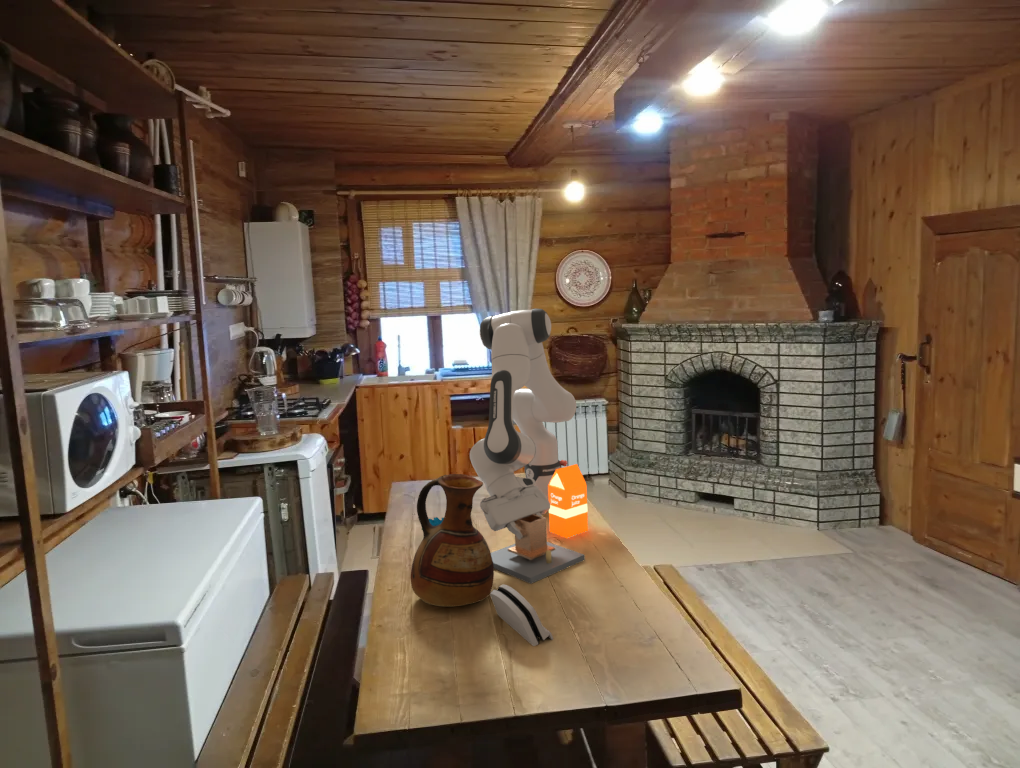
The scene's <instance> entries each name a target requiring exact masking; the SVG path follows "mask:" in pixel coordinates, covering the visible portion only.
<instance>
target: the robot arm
mask: <svg viewBox="0 0 1020 768" xmlns="http://www.w3.org/2000/svg"><path fill="white" fill-rule="evenodd" d="M551 332H552V321H551V319H550V316H549V315H548V312H547V311H546V310H544V309H543V308H532V309H519V310H518V309H517V310H513V311H508V312H504V313H501V314H496V315H489V316H488V317H485V318H484V319H483V320H481V323H480V325H479V336H480V340H481V342H482V345H483V346H484V347H485V348H486V349H488V350H491V352H490V353H491V381H490V389H489V408H488V410H489V411H488V413H489V415H488V426H487V430H486V432H485V435H484V437H483V438H482V439H480V440H478V441H476V442H475V443H474V444H473V446H471V449H470V451H469V460H470V462H471V465H472V467H473V469H474V471H475V473H476V474H477V476H478V478H479V479H480V481H481V482H483V485H484V486H485V489H486V491H487V493H488V495H489V496H488V497H484V498H482V499H481V501H480V503H479V507H480V509H481V511H482V513H483V514H484V518H485V521H486V522H487V525H488V527H489V528H490V529H491V530H492V531H494V532H497V531H500V530H503V529H507V530H508V531H509V532H510V533H512V534H514V536H515V535H516V536H517V538H518V539H519V540H520V539H522V538H524V537H525V534H524V532H523V530H519V529H518V528H517V527H515V525H516V524H515V522H514V521H516V520H518V519H522V518H525V517H528V516H530V515H533V514H535V515H538V516H541V517H543V515H546V513H547V512H549V509H550V502H549V500H548V485H549V483H550V481H551V479H552V477H553V475H554V473H555V471H556V469H559V468H563V467H567V466H568V461H567V460H564V459H561V460H559V453H558V451H559V450H558V449H559V447H558V440H557V436H555V434H553V432H550V431H549V430H548V429H547V427H545V425H544V423H554V424H556V423H563V422H569V421H571V420H572V418H574V416H575V414H576V412H577V400H576V399H575V397H574V395H573V394H572V392H569V391H568V390H567V389H565V388H564V387H563V386H562V385H561V384H559V382H558V381H557V379H555V377H554V376H553V374H552V372H551V370H550V367H549V364H548V361H547V357H546V353H545V348H544V345H543V342H546V341H547V340H548V339H549V338H550V337H551ZM523 387H525V388H523ZM514 423H515V424H516V426H517V427H518V429H519V431H518V430H517V429H516V428H515V425H514ZM522 468H524V474H525V475H524V476H525V477H520V476H516V475H515V473H514V472H516V471H519V470H521V469H522Z"/></svg>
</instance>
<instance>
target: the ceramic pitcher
mask: <svg viewBox="0 0 1020 768" xmlns="http://www.w3.org/2000/svg"><path fill="white" fill-rule="evenodd" d="M483 485H484V482H483V481H482V480H479V479H477V478H476V477H474V476H472V475H467V474H463V473H449V474H444V475H441V476H439V477H438V478H435V479H432V480H431V481H429V482H427V483H426V484H425V485H424V486H423V487H422V488H421V490H420V492H419V495H418V497H417V502H416V512H417V519H418V520H419V523H420V526H421V531H422V533H423V539H422V541H421V542H420V544H419V545H418V547H417V549H416V551H415V553H414V556H413V559H412V565H411V570H410V585H411V589H412V591H413V593H414V594H415V595H416V597H417V598H419V599H420V600H422V602H424V603H426V604H428V605H430V606H431V605H432V606H438V607H460V606H467V605H470V604H475V603H477V602H480V601H481V602H482V600H485V599H486V598H488V597H489V596H490V593H491V592H492V591H493V590H492V589H493V585H494V577H495V572H494V571H495V569H494V567H493V560H492V557H491V553H492V552H491V551H490V547H489V544H488V542H487V541H486V539H485V537H484V536H483V534H482V533H481V532H480V530H478V529H477V528H475V526H474V524H473V520H472V511H473V503H474V496H475V494H476V492H477V491H478V490H480V488H482V487H483ZM434 486H439V487H441V489H442V490H443V491H444V495H445V501H446V504H445V505H446V506H445V511H444V512H445V513H444V517H443V518H444V519H443V521H442V523H441V524H439V525H437V526H432V525H431V524H430V522H429V519H430V518H429V516H428V513H427V504H426V503H427V498H428V495H429V492H430V491H431V489H432V488H433V487H434Z"/></svg>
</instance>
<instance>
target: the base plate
mask: <svg viewBox="0 0 1020 768" xmlns="http://www.w3.org/2000/svg"><path fill="white" fill-rule="evenodd" d="M547 545H548V546H551V547H554V548H555V550H554V551H550V550H547V551H546V554H544V555H542V556H539V557H537V558H534V559H532V560H530V559H527V558H525V557H522V556H519V555H517V554H514V553H511V552H509V551H508V549H509V548H512V547H514V546H515V543H513V544H510V545H508V546H505V547H503V548H500V549H497V550H495V551H492V552H490V553H491V557H492V560H493V567H494V570H497V571H500V572H502V573H504V574H507V575H509V576H511V577H514V578H516V579H519V580H521V581H523V582H526V583H528V584H533V583H536V582H538V581H540V580H542V579H544V578H547V577H549V576H551V575H554V574H556V573H558V571H559V572H560V570H561V571H563V570H565V569H567V567H568V568H569V566H570V567H571V566H574V565H577V564H579V563H581V562H583V560H584V561H585V560H586V558H585V557H586V556H585V554H584V553H582V552H578V551H575V550H572V549H569V548H566V547H563V546H561V545H558V544H554V543H552V542H549V541H547ZM576 563H577V564H576Z"/></svg>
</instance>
